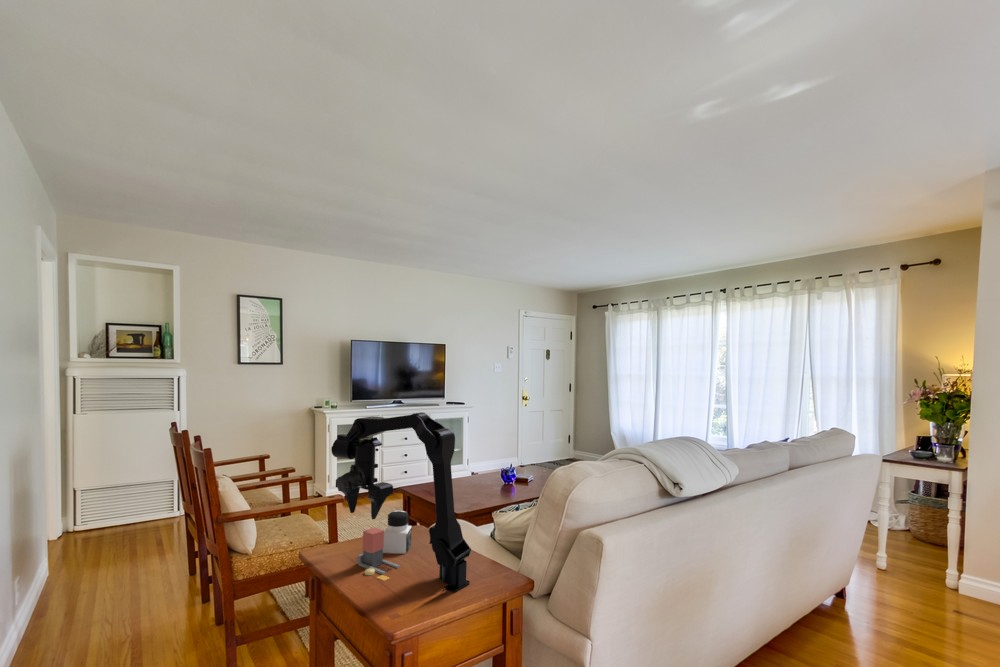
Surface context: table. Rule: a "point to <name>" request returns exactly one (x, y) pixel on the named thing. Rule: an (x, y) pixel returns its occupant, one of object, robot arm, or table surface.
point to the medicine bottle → (397, 533)
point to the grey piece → (372, 570)
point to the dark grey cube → (373, 558)
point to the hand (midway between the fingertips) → (362, 515)
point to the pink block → (373, 540)
